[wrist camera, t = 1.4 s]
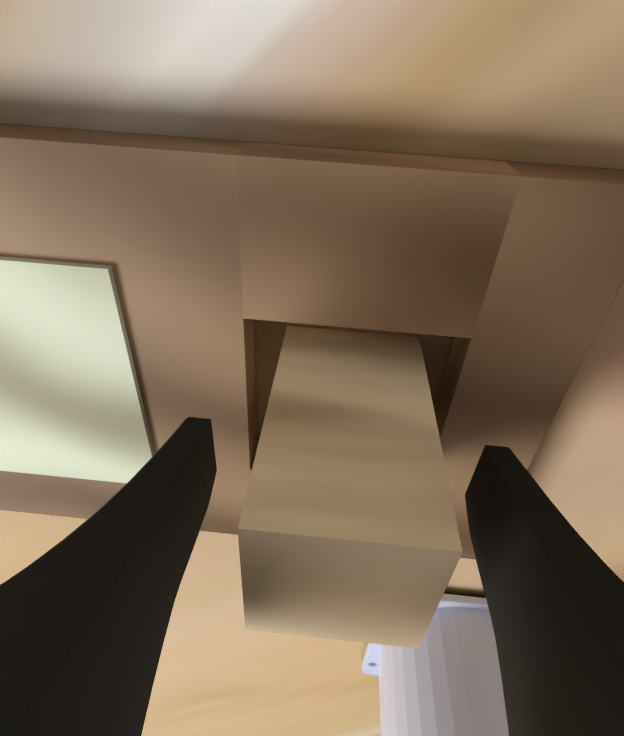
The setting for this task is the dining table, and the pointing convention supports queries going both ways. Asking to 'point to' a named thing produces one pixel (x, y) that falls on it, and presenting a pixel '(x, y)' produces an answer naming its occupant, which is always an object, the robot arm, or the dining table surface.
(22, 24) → the dining table surface
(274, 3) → the dining table surface
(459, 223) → the pocket board
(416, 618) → the maple block
